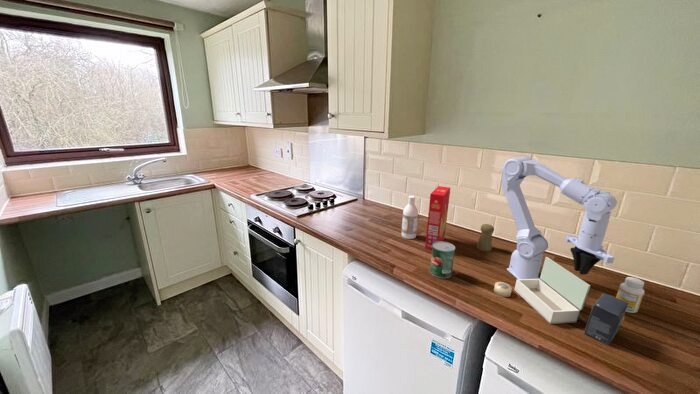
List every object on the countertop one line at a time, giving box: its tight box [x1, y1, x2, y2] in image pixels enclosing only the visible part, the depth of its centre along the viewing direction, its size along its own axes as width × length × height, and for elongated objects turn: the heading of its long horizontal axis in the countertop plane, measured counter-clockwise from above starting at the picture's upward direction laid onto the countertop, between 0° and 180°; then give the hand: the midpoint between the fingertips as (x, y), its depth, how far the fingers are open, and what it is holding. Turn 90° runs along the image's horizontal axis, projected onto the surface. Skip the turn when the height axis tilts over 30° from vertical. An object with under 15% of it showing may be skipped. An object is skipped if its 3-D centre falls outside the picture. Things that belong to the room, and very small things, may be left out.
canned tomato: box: [429, 240, 456, 279], centre depth 104 cm, size 8×8×11 cm
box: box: [583, 292, 628, 346], centre depth 76 cm, size 9×6×10 cm, turn 126°
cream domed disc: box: [493, 281, 513, 298], centre depth 94 cm, size 5×5×2 cm
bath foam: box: [401, 195, 419, 240], centre depth 133 cm, size 7×7×20 cm
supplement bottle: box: [615, 276, 645, 314], centre depth 86 cm, size 5×5×10 cm
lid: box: [539, 256, 591, 311], centre depth 87 cm, size 16×8×1 cm
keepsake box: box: [513, 278, 580, 325], centre depth 88 cm, size 16×8×4 cm, turn 5°
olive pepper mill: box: [476, 223, 495, 252], centre depth 123 cm, size 6×6×11 cm
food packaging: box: [424, 185, 451, 251], centre depth 125 cm, size 15×5×25 cm, turn 151°
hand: (580, 272), depth 89 cm, fingers closed
